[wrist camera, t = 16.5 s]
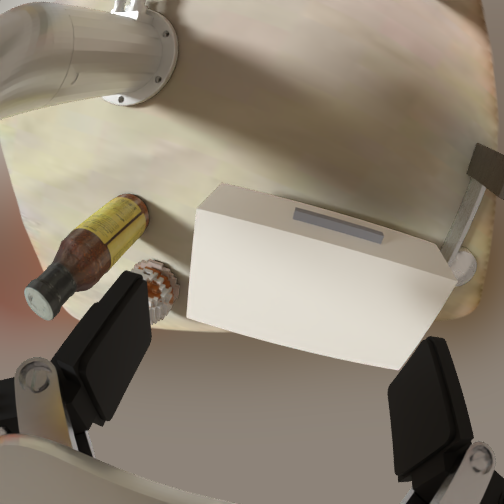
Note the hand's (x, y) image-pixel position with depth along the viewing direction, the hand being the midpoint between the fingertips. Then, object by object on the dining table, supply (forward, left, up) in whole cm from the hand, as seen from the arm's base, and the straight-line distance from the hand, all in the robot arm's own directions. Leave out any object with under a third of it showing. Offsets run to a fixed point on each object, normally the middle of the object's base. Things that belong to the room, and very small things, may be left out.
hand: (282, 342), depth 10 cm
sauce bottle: (+12, -21, -27) cm, 36 cm away
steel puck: (+7, +22, -27) cm, 36 cm away
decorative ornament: (+22, -17, -27) cm, 39 cm away
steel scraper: (+1, +19, -26) cm, 33 cm away
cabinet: (+9, +4, -27) cm, 28 cm away
